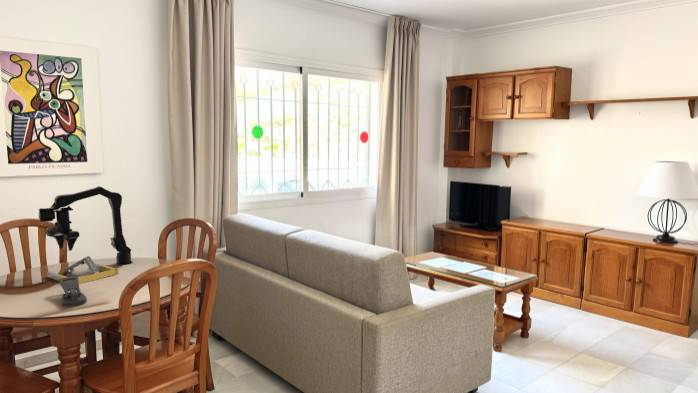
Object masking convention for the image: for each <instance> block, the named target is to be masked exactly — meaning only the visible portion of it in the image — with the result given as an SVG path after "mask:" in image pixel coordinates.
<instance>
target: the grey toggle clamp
mask: <svg viewBox="0 0 698 393" xmlns="http://www.w3.org/2000/svg"><path fill="white" fill-rule="evenodd" d="M78 278H79V276H76V275H75V276H69V277H68V276H66V278H61V279H59V281H58V283H59V284H60V286H61V288H62V290H63V291H64V292H63V293H62V299H61V300H62V301H61V302H62V303H61V305H62V307H64V308H71V307H74V308H75V307H77V306H78V307H79V306H82V305H86V303H87V302H88V299H87V296H86V295H85V294H84V293H82V292H81V288H80V283H79V279H78ZM70 280H74V281H70ZM64 281H68V282H64Z"/></svg>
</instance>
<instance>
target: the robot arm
mask: <svg viewBox="0 0 698 393" xmlns="http://www.w3.org/2000/svg"><path fill="white" fill-rule="evenodd" d="M99 195H100V196H103V197H105V198H107V200H108V204H109V206H110V208H111V215H112V216H111V218H112V229H113V236H112V237H110V242H111V244H110V246H112V248H113V249H115V250H116V251H117V252H116V255H115V258H116V262H115V264H117V265H120V266H123V265H130V264H133V261H132V254H131V253H132V252H131V251H132V248H130V247H128V245H127V241H126V239H125V237H124V232H123V224H122V215H121V213H122V212H121V207H122V202H123V197H122V194H120V193H119V192H116V191H111V190H108V189H106V188H104V187H102V186H96V187H94V188H93V187H92V188H89V189H86V190H83V191H79V192H75V193H68V194H67V193H66V194H58V195H57V196H55V198H54V200H53V201H54V202H53V203H52V204H51V206H50V207H47V208H46V207H45V208H39V209H38V220H39V223H45V222H53V221H54V220H55V219H56V221H55V222H54V225H53V226H50V227H48V228H45V230H44V232H45V234H46V236H47V237H50V238H54V240H55V241H56V243H57V246H58V247H59V249H60V250H61V249H63V247H64V243H65V241H66V243H67V248H68V251H69V252H72V251H73V248H74V246H75V243H76V241H77V239H78V238H80V232H79V231H77V230H73V229H72V228H71V224H72V221H71V219H70V211H71V212H72V211H74V209H73V208H72V207H71V206H70V205H72V204H74V203H75V202H78V201H81V200H84V199H87V198H89V199H90V198H92V197H95V196H99Z"/></svg>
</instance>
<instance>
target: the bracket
mask: <svg viewBox="0 0 698 393" xmlns="http://www.w3.org/2000/svg"><path fill="white" fill-rule="evenodd" d="M91 263H92V265H93V266H94V267H93V266H92V265H91ZM94 263H95V261H93V259H92V257H91V256H90V255H88V256H86V257H83V258H82V259H80V260H79V261H77V262H75V263H74V264H71V265H70V266H68V267H66V268H64V269H63V270H62V271H60V272H59V273H57V274H60V275H61V274H63V273H64V274H67V273H72V272H74V271H75V268H76V267H79V266H80V265H81V266H83V265H85V264H86V265H87V267H88V268H89V270H90V271H91V273H92V274H95V273H97V272H98V273H100V270H98V269H97V267H96V265H95V264H94Z"/></svg>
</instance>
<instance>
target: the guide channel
mask: <svg viewBox="0 0 698 393" xmlns="http://www.w3.org/2000/svg"><path fill="white" fill-rule="evenodd" d="M90 263H91V262H90ZM94 264H95V265H96V267H97V269H98V270H99V271H101V270H102V272H98V273H96V274H93V273H92V274H88V275H84V276H80V277H79V276H78V279H79V284H84V283H87V281H88V282H91V280H92V281H96V280H99V279H104V278H107V277H112V276H116V275H119V269H118V268H115V267H112V266H107V265H104V264H100V263H97V262H94ZM91 265H92V263H91ZM92 266H93V265H92ZM93 267H94V266H93ZM46 275H47V276H46V277H47V278H49V279H53V280H55V281H58V282H59V279H61V278H66V277H67V276H65V275H63V274H61V273H60V274H58V273H56V272H53V271H47V272H46ZM95 279H96V280H95ZM70 281H74V280H70ZM64 282H68V281H64Z"/></svg>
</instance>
